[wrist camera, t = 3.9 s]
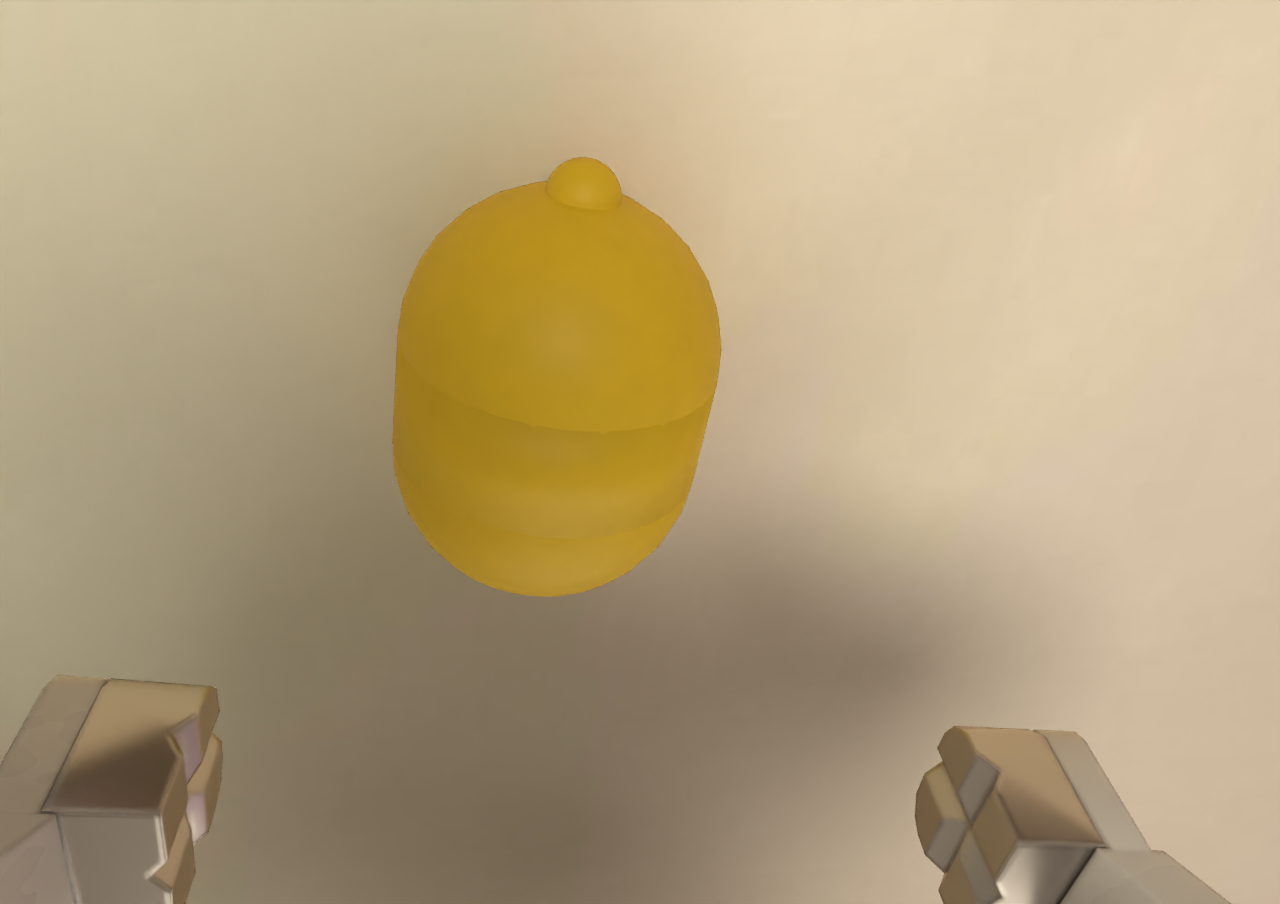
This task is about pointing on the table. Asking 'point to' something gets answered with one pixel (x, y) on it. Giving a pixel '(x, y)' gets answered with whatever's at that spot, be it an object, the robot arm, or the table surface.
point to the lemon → (553, 384)
